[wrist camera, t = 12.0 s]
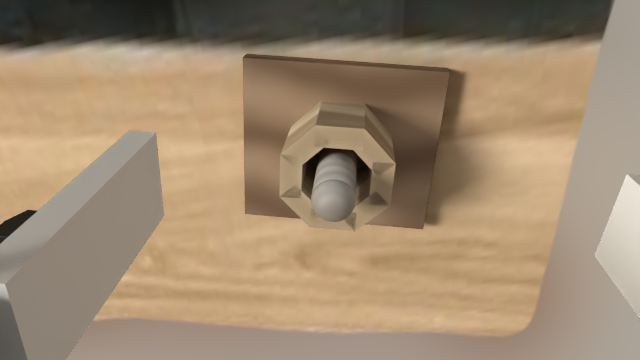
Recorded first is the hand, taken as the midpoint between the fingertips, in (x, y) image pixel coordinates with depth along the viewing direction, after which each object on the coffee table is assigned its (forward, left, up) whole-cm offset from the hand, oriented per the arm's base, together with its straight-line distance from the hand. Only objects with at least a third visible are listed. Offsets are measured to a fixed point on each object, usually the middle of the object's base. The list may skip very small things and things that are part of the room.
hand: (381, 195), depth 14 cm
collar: (+9, -2, -25) cm, 27 cm away
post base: (+9, -2, -27) cm, 28 cm away
